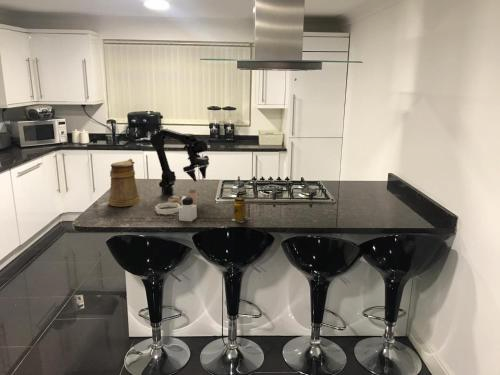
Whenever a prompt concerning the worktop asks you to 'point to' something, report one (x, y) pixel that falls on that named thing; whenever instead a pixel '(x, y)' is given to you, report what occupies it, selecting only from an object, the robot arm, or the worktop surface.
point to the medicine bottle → (187, 210)
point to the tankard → (123, 184)
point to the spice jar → (193, 196)
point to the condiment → (240, 210)
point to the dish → (164, 211)
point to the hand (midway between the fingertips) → (200, 179)
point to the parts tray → (175, 200)
